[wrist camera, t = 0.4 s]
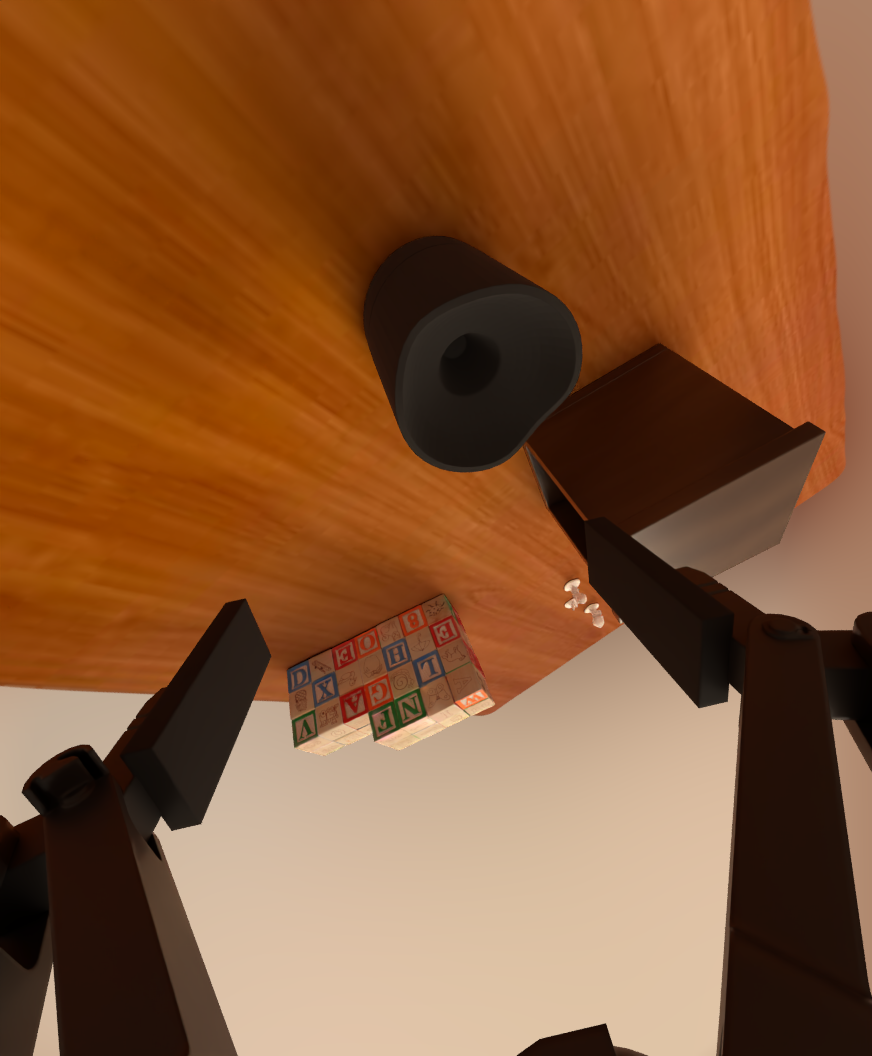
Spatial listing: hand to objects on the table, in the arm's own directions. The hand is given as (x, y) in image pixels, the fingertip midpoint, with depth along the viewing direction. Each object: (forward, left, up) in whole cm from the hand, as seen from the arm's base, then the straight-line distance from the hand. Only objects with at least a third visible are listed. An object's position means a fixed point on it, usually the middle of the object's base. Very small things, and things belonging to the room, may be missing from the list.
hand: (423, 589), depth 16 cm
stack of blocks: (+31, -16, -18) cm, 39 cm away
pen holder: (0, +7, -18) cm, 19 cm away
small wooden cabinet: (+18, +16, -18) cm, 29 cm away
